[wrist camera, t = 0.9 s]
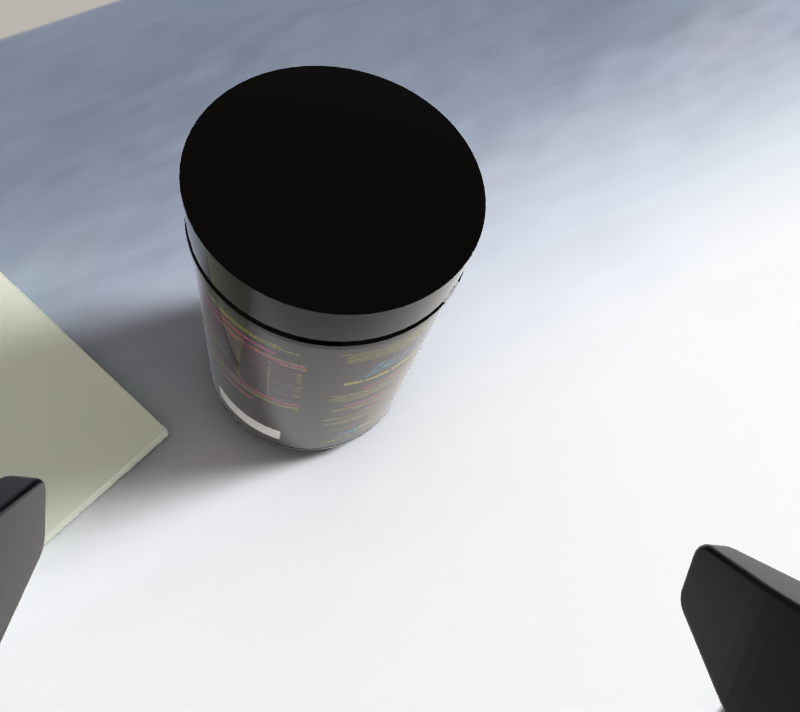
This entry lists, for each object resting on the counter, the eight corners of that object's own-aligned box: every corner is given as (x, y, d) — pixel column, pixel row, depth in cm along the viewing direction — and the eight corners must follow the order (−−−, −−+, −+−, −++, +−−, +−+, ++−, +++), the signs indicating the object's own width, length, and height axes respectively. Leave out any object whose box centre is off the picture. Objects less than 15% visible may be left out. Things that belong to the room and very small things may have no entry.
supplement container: (431, 343, 25) (532, 158, 16) (340, 495, 22) (399, 376, 13) (279, 254, 26) (291, 22, 16) (169, 392, 23) (107, 204, 13)
